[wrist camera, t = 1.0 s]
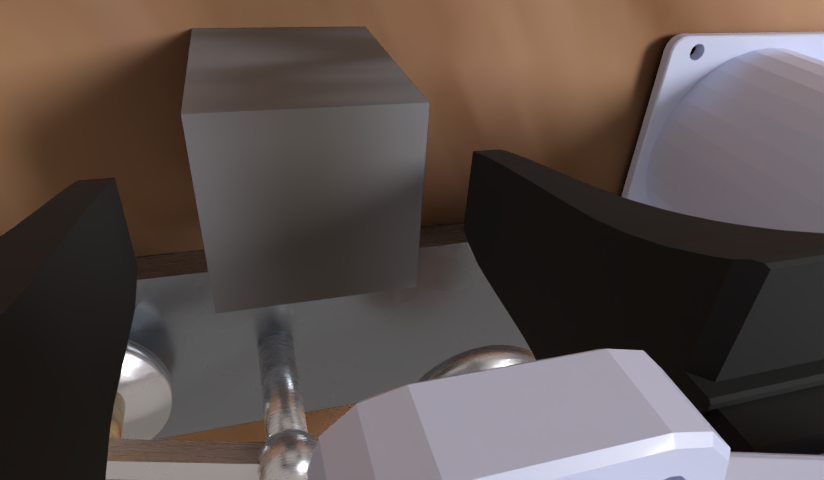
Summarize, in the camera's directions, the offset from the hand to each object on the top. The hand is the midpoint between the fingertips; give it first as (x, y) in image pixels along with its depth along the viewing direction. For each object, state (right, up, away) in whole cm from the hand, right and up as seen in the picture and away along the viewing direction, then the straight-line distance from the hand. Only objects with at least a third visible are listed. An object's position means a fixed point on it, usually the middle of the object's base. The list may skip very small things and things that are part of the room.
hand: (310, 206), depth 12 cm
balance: (-3, -4, +9) cm, 10 cm away
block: (-1, +3, +5) cm, 6 cm away
